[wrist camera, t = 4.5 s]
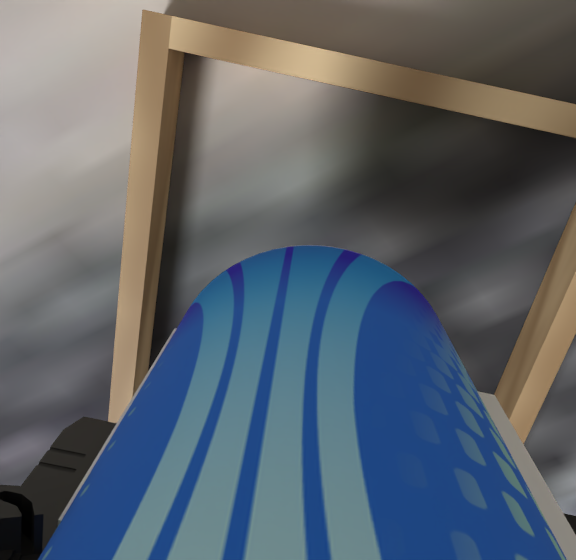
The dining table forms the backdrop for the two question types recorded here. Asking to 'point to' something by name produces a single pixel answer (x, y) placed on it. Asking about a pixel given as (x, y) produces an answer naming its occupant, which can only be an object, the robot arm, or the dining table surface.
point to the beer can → (306, 432)
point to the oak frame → (341, 72)
